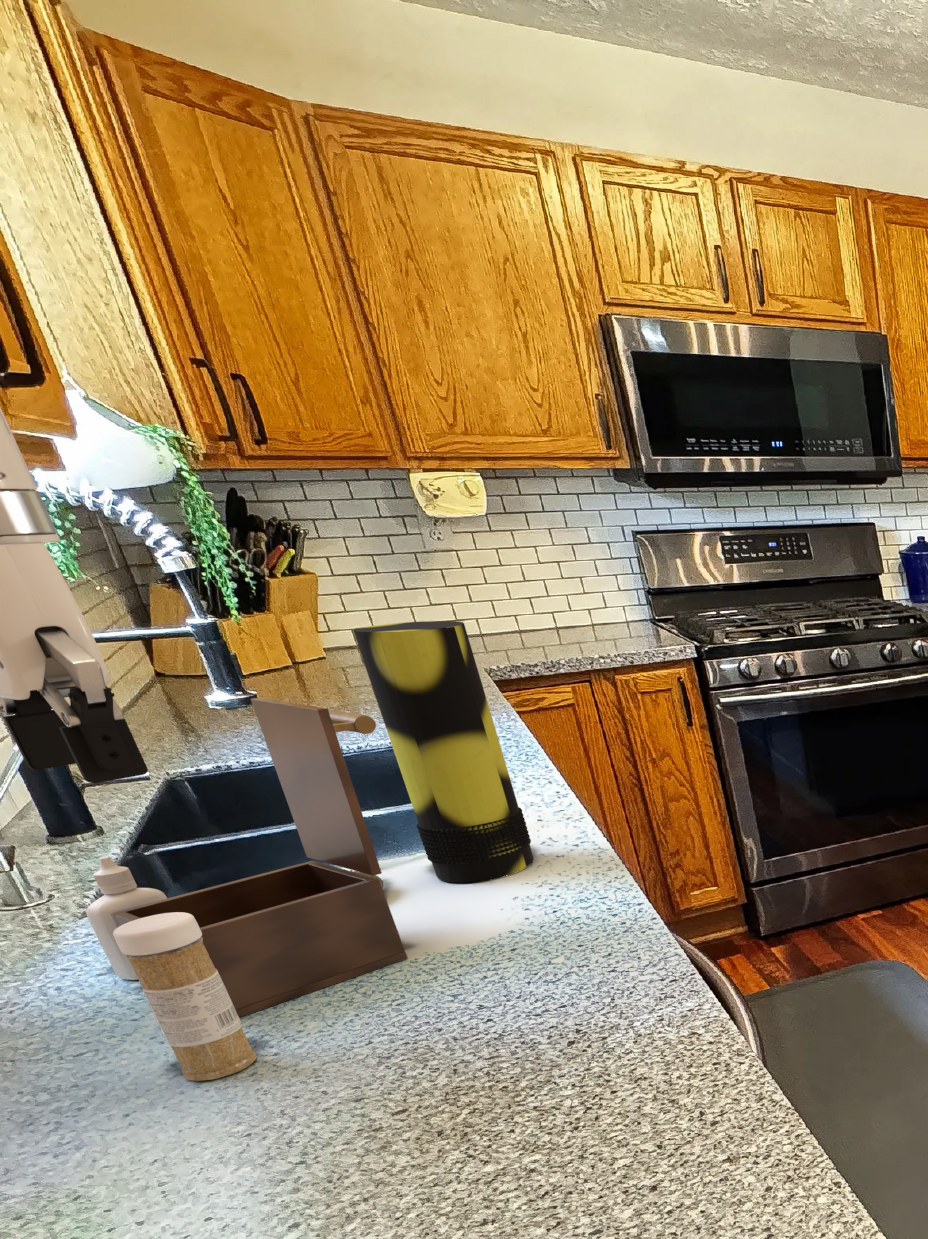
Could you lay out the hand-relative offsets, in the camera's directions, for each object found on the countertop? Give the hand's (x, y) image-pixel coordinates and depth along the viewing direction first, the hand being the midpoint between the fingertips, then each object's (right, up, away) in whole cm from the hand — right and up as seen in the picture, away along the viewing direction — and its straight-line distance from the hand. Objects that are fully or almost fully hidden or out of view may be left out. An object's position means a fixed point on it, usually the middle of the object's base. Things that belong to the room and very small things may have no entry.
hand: (89, 771), depth 73 cm
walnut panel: (-6, +2, +25) cm, 26 cm away
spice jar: (0, -24, +10) cm, 26 cm away
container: (-10, -5, +53) cm, 55 cm away
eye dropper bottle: (-24, -16, +27) cm, 40 cm away
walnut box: (-10, -17, +25) cm, 32 cm away
